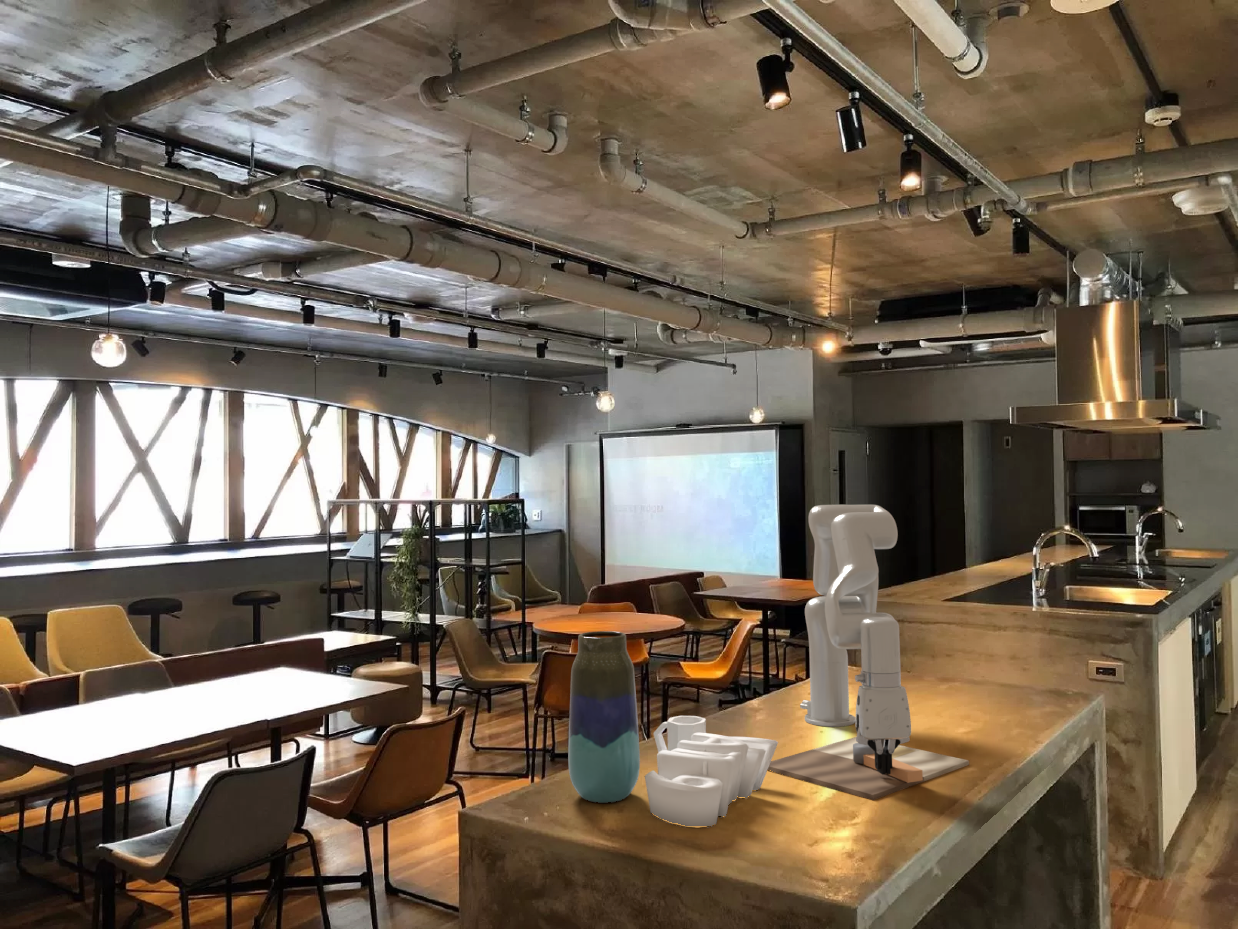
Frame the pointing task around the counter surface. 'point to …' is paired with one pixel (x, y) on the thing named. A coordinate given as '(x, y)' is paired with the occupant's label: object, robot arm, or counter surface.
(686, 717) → the mug
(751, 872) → the counter surface
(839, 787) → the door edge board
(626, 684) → the vase
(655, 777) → the wavy white extrusion
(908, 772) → the bar
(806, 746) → the counter surface
